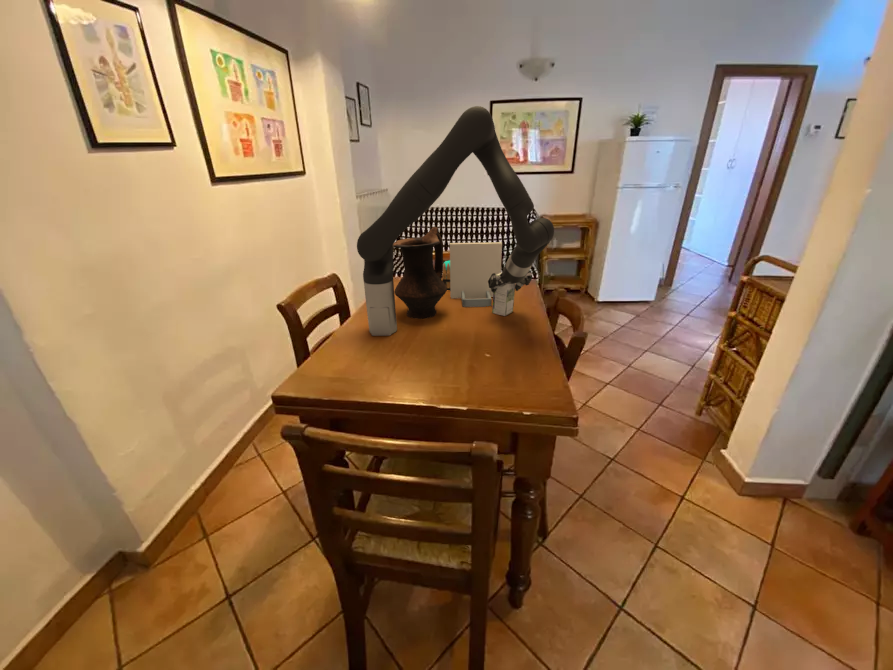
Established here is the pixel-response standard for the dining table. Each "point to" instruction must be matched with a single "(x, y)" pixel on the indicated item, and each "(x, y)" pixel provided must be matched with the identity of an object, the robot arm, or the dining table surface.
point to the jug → (421, 274)
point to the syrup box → (503, 299)
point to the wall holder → (474, 271)
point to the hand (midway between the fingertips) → (504, 289)
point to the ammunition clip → (447, 280)
